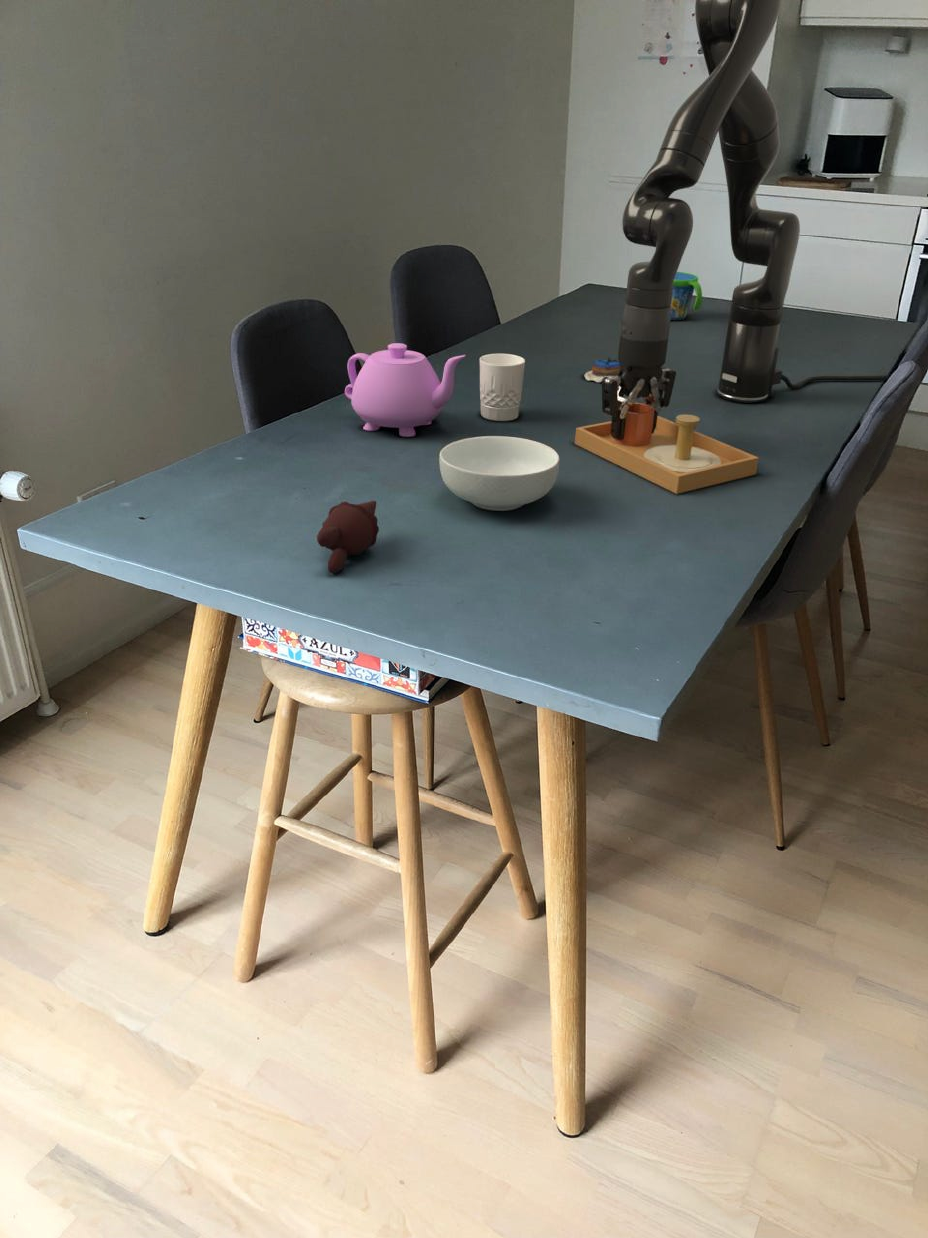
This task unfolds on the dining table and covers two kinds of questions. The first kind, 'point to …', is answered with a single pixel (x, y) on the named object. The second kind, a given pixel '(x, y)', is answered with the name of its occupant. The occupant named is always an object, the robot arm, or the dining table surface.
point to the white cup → (501, 386)
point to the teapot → (398, 389)
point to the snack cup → (684, 295)
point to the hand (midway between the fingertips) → (632, 435)
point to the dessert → (603, 370)
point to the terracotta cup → (638, 425)
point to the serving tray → (633, 460)
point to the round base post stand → (683, 450)
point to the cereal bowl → (499, 471)
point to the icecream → (348, 531)
